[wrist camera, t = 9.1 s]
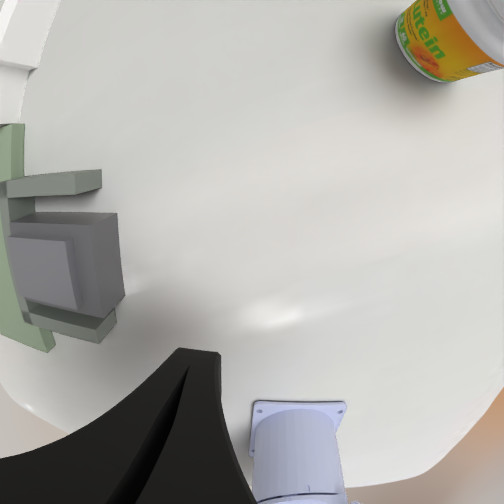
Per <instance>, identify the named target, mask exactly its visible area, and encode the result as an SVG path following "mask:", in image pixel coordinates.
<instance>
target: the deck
mask: <svg viewBox="0 0 504 504" xmlns="http://www.w3.org/2000/svg"><path fill="white" fill-rule="evenodd" d="M24 128H25V124H10V125H7V126H4V127H2V128H0V333H1V335H4V336H6V337H8V338H10V339H13V340H15V341H18V342H20V343H22V344H25V345H27V346H30V347H32V348H35V349H38V350H40V351H43V352H46V353H48V352H49V351H50V350H51V349H52V348H53V347H54V346H55V345H56V344H55V341H54V339H53V336H52V332H51V331H53V332H56V333H60V334H63V335H67V336H70V337H74V338H78V339H81V340H85V341H89V342H93V343H97V344H100V342H101V341H102V340H103V339H104V337H105V336H106V335H107V334H108V332H109V331H110V330H111V329H112V327H113V326H114V325H115V324H116V322H117V321H116V316H115V310H114V309H112V310H111V311H110V312H109V313H108V315H107V316H106V317H105V318H100V317H95V316H91V315H86V314H81V313H77V312H72V311H68V310H64V309H60V308H56V307H52V306H48V305H44V304H40V303H36V302H32V301H29V300H25V299H24V297H23V296H20V295H19V293H18V289H17V285H16V281H15V276H14V272H13V267H12V262H11V257H10V252H9V246H8V240H7V237H8V236H10V235H11V233H10V225H9V222H11V221H14V220H16V219H19V218H22V217H24V216H27V215H30V214H32V213H35V205H34V196H51V195H76V194H79V193H83V192H87V191H90V190H94V189H98V188H101V187H102V183H101V169H100V170H84V171H71V172H60V173H50V174H41V175H32V176H24Z"/></svg>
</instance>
